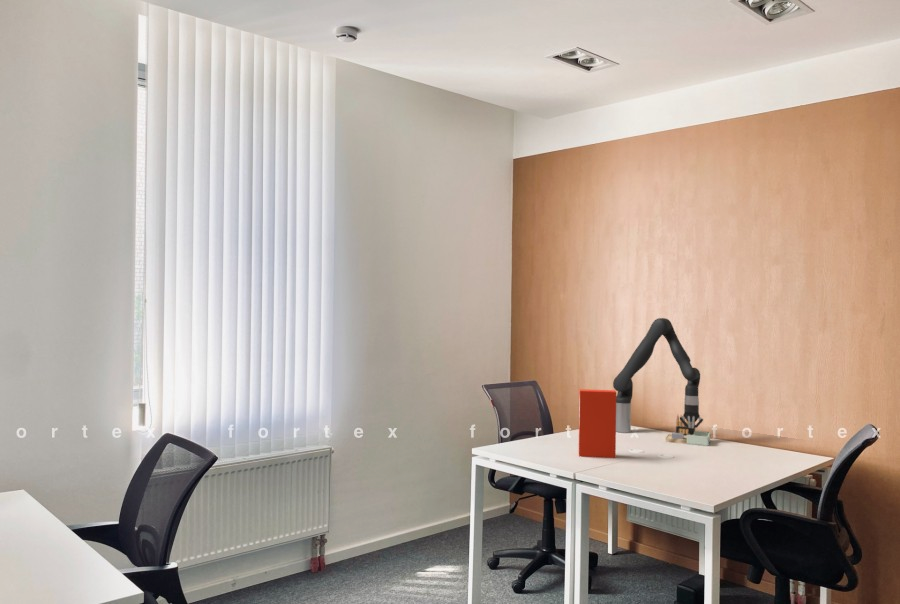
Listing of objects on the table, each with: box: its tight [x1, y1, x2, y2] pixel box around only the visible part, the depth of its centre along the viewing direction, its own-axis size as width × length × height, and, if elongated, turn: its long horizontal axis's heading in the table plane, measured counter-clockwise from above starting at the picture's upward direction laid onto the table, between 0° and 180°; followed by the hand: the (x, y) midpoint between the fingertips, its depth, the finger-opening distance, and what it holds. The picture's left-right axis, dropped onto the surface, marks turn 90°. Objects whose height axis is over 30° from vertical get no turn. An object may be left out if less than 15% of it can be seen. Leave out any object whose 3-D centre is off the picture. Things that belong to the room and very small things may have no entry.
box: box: [686, 430, 711, 447], centre depth 364 cm, size 11×16×5 cm
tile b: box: [671, 432, 684, 439], centre depth 366 cm, size 6×5×2 cm
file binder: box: [578, 388, 617, 459], centre depth 326 cm, size 8×17×32 cm, turn 81°
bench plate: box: [665, 433, 688, 445], centre depth 369 cm, size 11×14×2 cm
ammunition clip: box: [675, 414, 696, 436], centre depth 386 cm, size 11×2×12 cm, turn 67°
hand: (691, 434), depth 369 cm, fingers closed
